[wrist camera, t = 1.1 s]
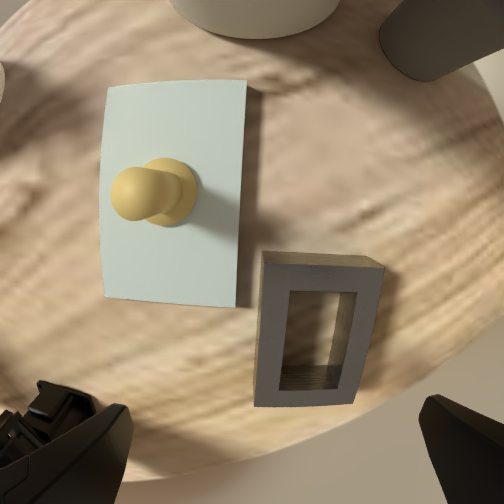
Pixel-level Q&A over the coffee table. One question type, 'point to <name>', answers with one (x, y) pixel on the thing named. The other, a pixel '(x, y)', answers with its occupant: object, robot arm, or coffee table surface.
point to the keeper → (172, 191)
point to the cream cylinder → (2, 81)
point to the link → (345, 334)
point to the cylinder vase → (255, 16)
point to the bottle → (441, 35)
